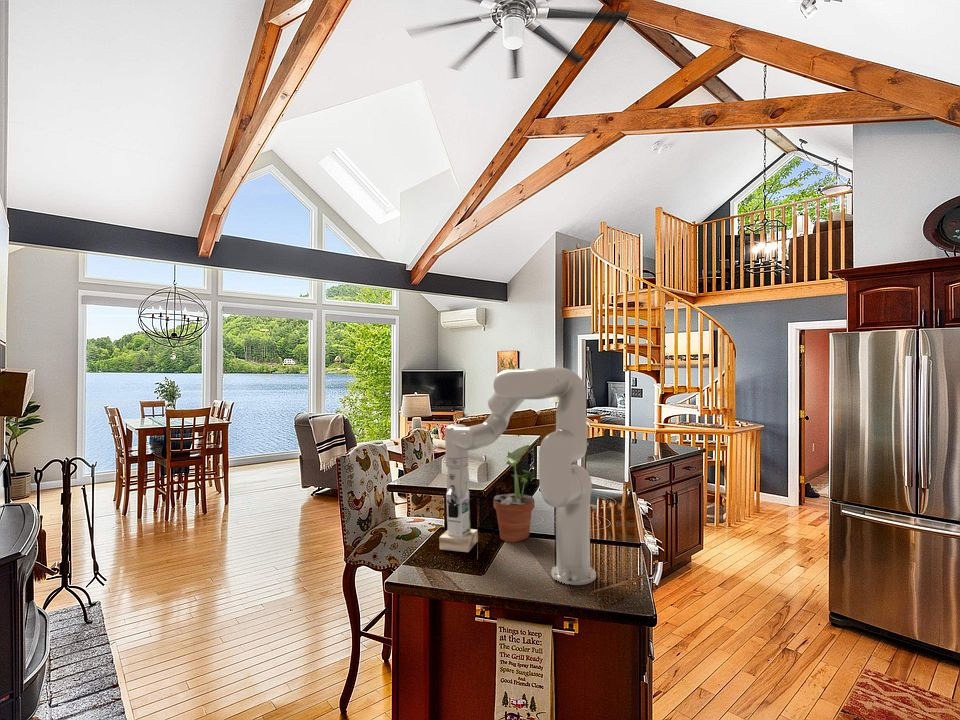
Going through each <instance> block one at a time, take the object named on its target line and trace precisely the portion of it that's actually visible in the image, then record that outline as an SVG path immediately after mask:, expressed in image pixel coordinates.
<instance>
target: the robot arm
mask: <svg viewBox="0 0 960 720" xmlns="http://www.w3.org/2000/svg"><path fill="white" fill-rule="evenodd" d="M493 390H494V393H493V394H491V396H490V397H489V399H488V400H487V405H488V409H489V410H490V411H491V413H490V414H489V416H487V418H486V419H485V420H484V421H483V423H479V424H475V425H471V426H467V425H466V424H461V423H460V424H459V423H458V424H457V423H456V424H455V423H454V424H448V425H446V427H445V429H444V440H445V442H444V443H445V446H444V447H445V468H447V471H446V473H447V475H446V493H447V500H446V502H447V501H448V516H449V517H452V518H457V517H458V505H457V501H458V497H459V498H463V497H464V496H465V495H466V491H467V490H468V489H469V488H470V489H471V485H470V484H471V483H470V482H471V481H470V473H469V451H474V450H477V449H481V448H484V447H488V446H490V445H492V444H493V443H494V442H496V441H497V440H498V439H499V438H500V436H501V435H502V434H503V433H504V432H505V431H506V429H507V427H508V425H509V422H510V417H511V416H512V415H513V414H514V413H515V412H516V410H517V409H518V407H520V405H521V404H522V403H524V401H525V400H546V399H551V398H555V397H557V398H558V403H557V407H556V410H555V411H556V412H555V431H552V432H550V433H548V434H547V435H545V436H544V437H543V439H542V440H541V443H540V446H539V451H538V461H539V462H538V463H539V464H538V468H539V469H538V470H539V472H538V473H539V478H538V479H539V491H540V495H541V497H542V500H544V502H545V503H546V504H547V505H548V506H550V507H551V508H555V542H556V543H555V547H556V548H555V550H556V551H555V553H556V558H555V559H556V565H555V566H554V567H552V569H551V578H552V579H554V580H555V581H556V580H557V582H558V581H559V582H558V583H561V582H562V583H561V584H564V583H565V584H564V585H569V584H570V585H571V586H583V585H588V584H591V583H592V582H594V581H595V580H596V579H597V572H596V571H595V570H596V569H594V568H592V567H591V539H590V537H591V535H590V529H591V528H590V517H591V515H590V513H591V512H590V508H591V507H590V505H591V497H592V496H591V495H592V490H593V489H592V488H593V487H592V486H593V485H592V484H593V483H592V478H591V476H590V475H591V474H590V473H589V472H588V471H587V469H586V468H584V467H583V466H581V465H579V464H578V465H577V464H572V463H576V462H577V461H579V460H581V459H582V458H584V457H585V455H586V453H587V449H588V440H587V436H588V435H587V434H588V433H587V426H588V425H587V391H586V386H585V383H584V381H583V380H582V378H581V377H580V376H579V375H578V374H577V373H576V372H574V371H573V370H572V369H569V368H566V367H560V366H559V367H557V366H555V367H553V366H552V367H545V368H533V369H532V368H531V369H525V368H510V369H504V370H501V371H500V372H499V373H497V374H496V376H495V378H494V379H493ZM452 495H456V496H452ZM453 499H455V501H454V500H453ZM570 585H569V586H570Z"/></svg>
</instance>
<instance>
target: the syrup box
mask: <svg viewBox="0 0 960 720" xmlns="http://www.w3.org/2000/svg"><path fill="white" fill-rule="evenodd" d="M452 496H456V495H452ZM445 497H446V523H447V530H448V535H451V536H456V537H463V536H465V535H466V534H468V533H470V532H471V529H472V528H471V509H470V508H471V506H470V503H471V502H470V491H469V490H467V491H466V495H465V496H464V497H463V498H459V497H458V501H457V505H458V517H457V518H452V517H449V516H448V501H447V492H446V494H445ZM453 500H454V501H455V499H453Z"/></svg>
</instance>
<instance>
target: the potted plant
mask: <svg viewBox="0 0 960 720" xmlns="http://www.w3.org/2000/svg"><path fill="white" fill-rule="evenodd" d="M529 448H530V444H527V445H523V446H520V447H519V448H517V449H515V450H514V451H512V452H509V451H508V452H507V456H506V458H507V459H506V460H505V462H504V465H508V466H510V467H513V471H514V474H511V478H513V479H514V493H504V494H496V495H495V496H494V497H493V508H494V509H495V511H496V518H497V523H498V524H497V525H498V531H499V537H500V538H499V539H501V540H502V541H504V542H508V543H509V542H510V543H516V542H521V541H525V540H526V539H528V538H529V537H530V529H531V519H532V511H533V510H534V509H535V498H534V497H533V496H531V495H529V494H525V493H524V489H525V484H527V483H528V482H529V480H533V478H535V475H534V474H533V472H532V471H530V470H525V469H521V471H522V472H523V473H524V474H519V475H518V471H517V464H518V463H520V462H521V461H522V458H523V456H524V455H525V454H526V453H527V451H528V449H529ZM519 478H520V483H523V484H522V489H521V493H520V486H519ZM528 479H529V480H528Z"/></svg>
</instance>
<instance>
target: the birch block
mask: <svg viewBox="0 0 960 720" xmlns="http://www.w3.org/2000/svg"><path fill="white" fill-rule="evenodd" d="M478 536H479V533H478V529H474V528H471V532H470V533H468V534H466V535H465V536H463V537H456V536H451V535H448V529H447V530H445V531H444V532H443V533H442V534H441V535H440V536H439V538H438V539H439V540H438V542H439V550H443V551H453V552H463V553H469V552H470V551H471V550H472V549H473V548H474V547H475V545H476V544H477V543H478V542H479V537H478Z"/></svg>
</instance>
